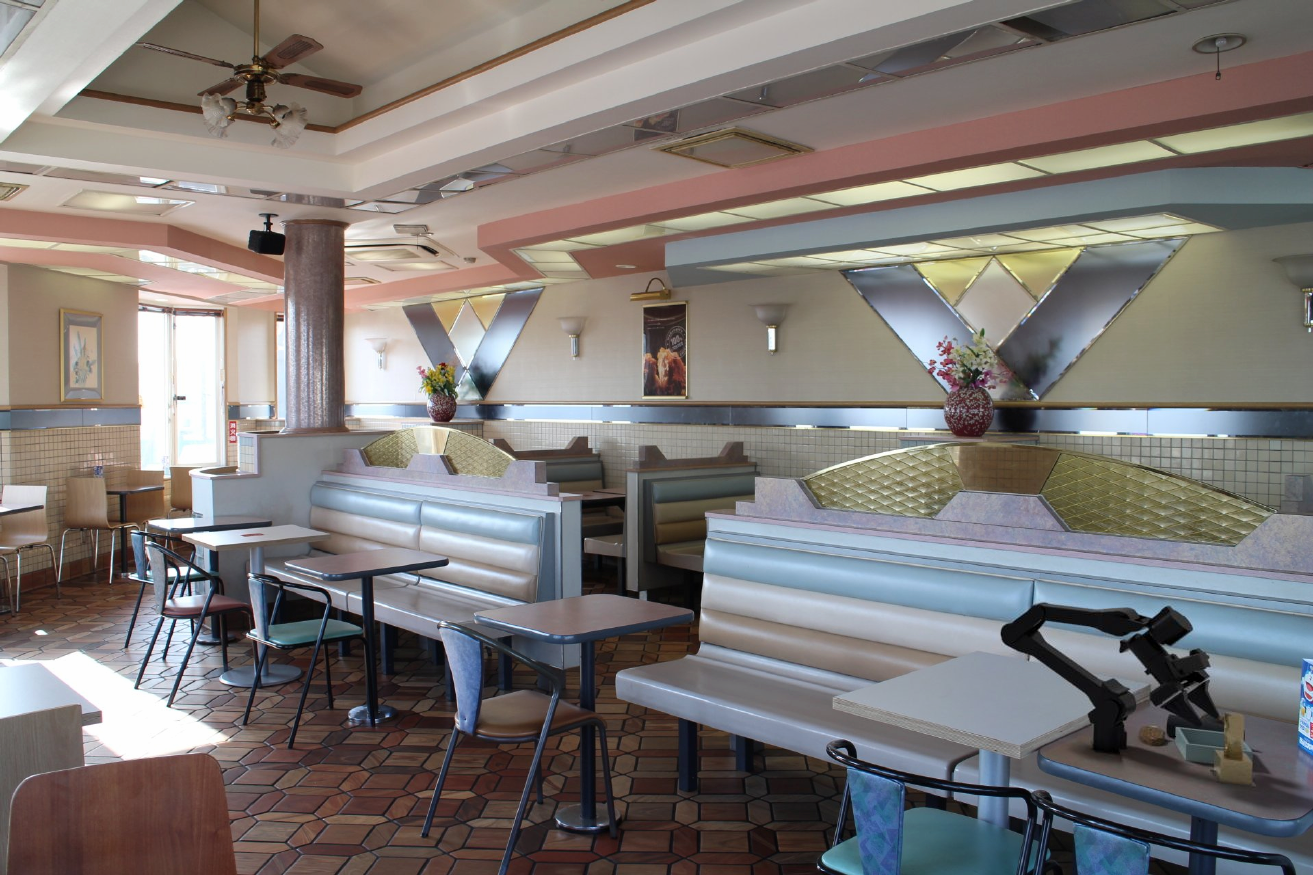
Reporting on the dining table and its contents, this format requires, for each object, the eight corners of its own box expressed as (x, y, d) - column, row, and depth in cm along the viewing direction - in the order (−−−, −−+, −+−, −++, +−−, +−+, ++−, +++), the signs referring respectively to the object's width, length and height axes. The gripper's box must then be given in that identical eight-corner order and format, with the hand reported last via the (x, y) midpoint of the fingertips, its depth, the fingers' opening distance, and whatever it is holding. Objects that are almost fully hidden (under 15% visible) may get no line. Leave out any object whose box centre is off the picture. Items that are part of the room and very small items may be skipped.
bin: (1185, 764, 203) (1186, 743, 203) (1175, 746, 215) (1175, 726, 215) (1252, 773, 199) (1252, 751, 199) (1237, 754, 211) (1238, 733, 211)
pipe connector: (1179, 704, 230) (1251, 718, 220) (1178, 726, 231) (1250, 741, 221) (1166, 716, 222) (1240, 731, 212) (1166, 738, 222) (1239, 754, 212)
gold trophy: (1219, 780, 192) (1221, 716, 192) (1214, 771, 197) (1215, 708, 197) (1251, 784, 190) (1253, 720, 190) (1244, 774, 195) (1246, 712, 195)
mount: (1216, 786, 191) (1217, 767, 191) (1209, 774, 198) (1209, 756, 198) (1256, 791, 189) (1257, 772, 189) (1247, 779, 196) (1248, 760, 196)
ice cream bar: (1137, 726, 227) (1132, 744, 215) (1148, 712, 226) (1144, 729, 213) (1159, 741, 225) (1155, 760, 212) (1170, 726, 224) (1167, 744, 211)
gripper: (1166, 643, 194) (1225, 709, 186) (1200, 631, 207) (1256, 692, 199) (1126, 673, 200) (1181, 738, 192) (1161, 659, 213) (1214, 720, 205)
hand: (1209, 721), depth 197 cm, fingers open, 9 cm apart
